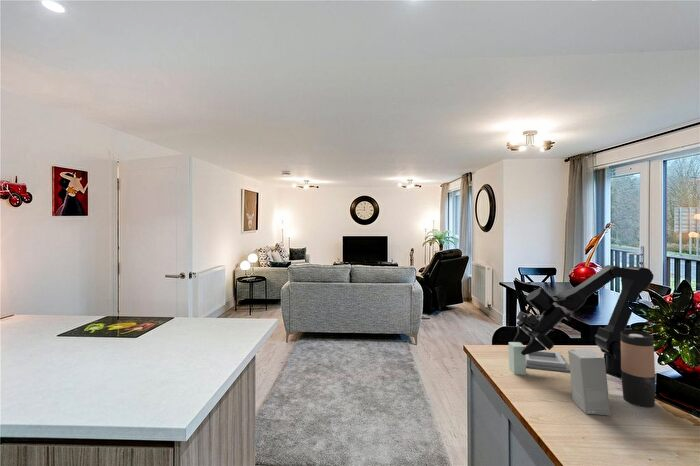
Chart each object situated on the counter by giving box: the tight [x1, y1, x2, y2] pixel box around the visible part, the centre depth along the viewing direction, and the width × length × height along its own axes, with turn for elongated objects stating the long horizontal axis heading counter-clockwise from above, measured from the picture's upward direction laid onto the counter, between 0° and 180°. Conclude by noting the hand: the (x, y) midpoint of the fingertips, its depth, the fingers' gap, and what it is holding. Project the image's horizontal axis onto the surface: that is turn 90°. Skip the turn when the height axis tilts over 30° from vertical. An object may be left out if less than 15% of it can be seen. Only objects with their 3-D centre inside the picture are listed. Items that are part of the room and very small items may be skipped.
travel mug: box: [621, 330, 656, 408], centre depth 99 cm, size 8×8×20 cm
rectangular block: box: [508, 341, 527, 375], centre depth 122 cm, size 4×5×10 cm
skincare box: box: [567, 349, 611, 416], centre depth 96 cm, size 8×7×16 cm
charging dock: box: [526, 350, 570, 373], centre depth 130 cm, size 16×16×2 cm
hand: (517, 349), depth 122 cm, fingers open, 9 cm apart
